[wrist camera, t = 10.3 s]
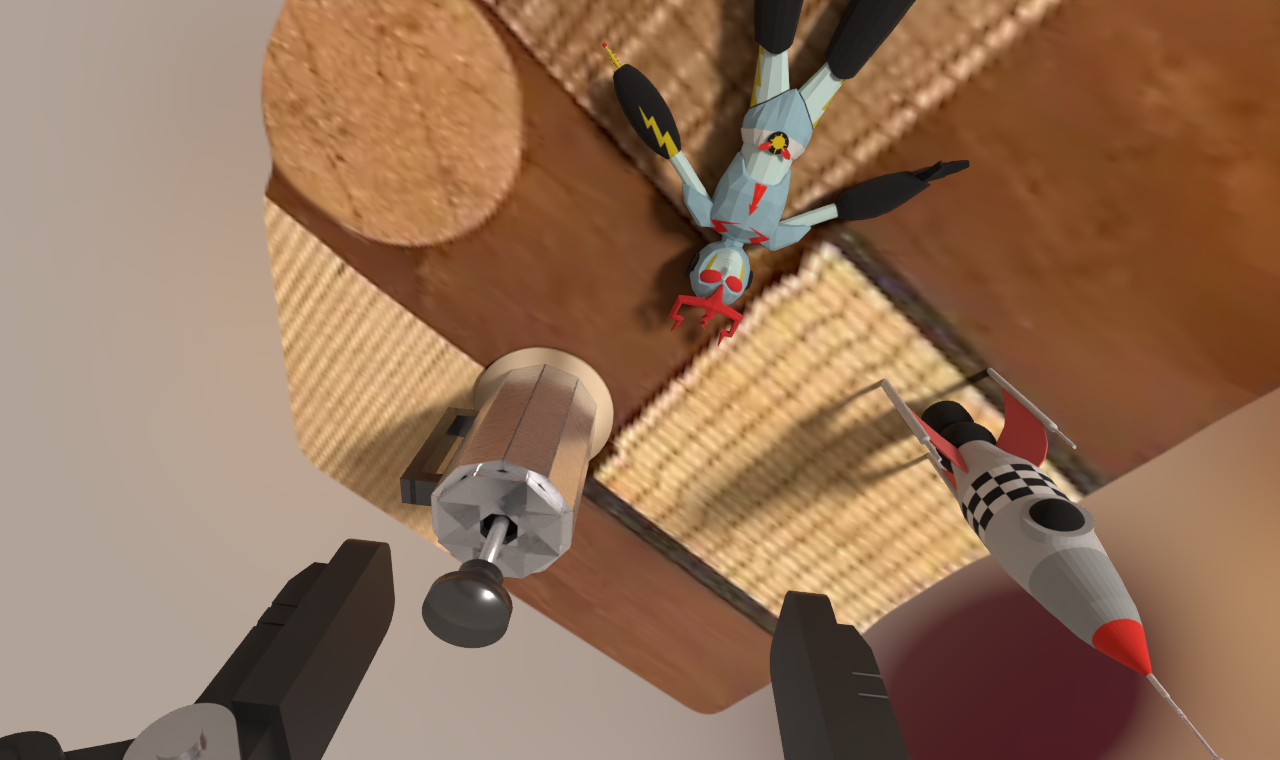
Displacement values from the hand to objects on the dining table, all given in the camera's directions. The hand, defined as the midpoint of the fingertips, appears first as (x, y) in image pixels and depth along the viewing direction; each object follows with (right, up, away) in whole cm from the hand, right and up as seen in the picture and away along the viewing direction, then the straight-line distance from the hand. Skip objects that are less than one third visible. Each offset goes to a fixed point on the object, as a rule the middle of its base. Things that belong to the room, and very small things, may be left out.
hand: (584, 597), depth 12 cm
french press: (-9, +2, +40) cm, 41 cm away
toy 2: (+26, +2, +39) cm, 47 cm away
